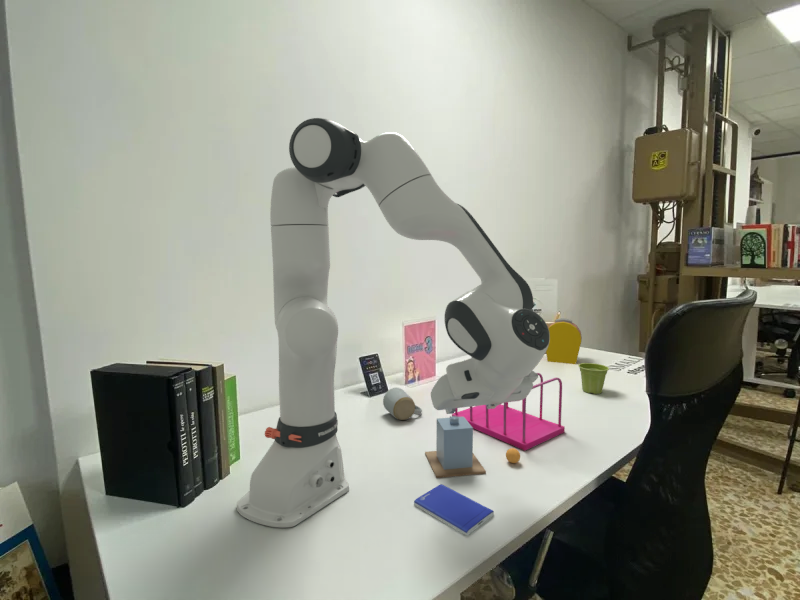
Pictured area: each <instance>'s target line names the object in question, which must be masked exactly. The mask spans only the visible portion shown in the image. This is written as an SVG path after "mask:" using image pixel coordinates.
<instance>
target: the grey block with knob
mask: <svg viewBox="0 0 800 600" xmlns="http://www.w3.org/2000/svg"><path fill="white" fill-rule="evenodd" d="M473 435H474V428H473V427H472V426H471V425H470V424H469V423H468V421H467V420H466V419H465V418H464V417H456V416H452V415H451V416H449V417H442V418H441V417H439V418H436V444H435V445H436V449H435V451H436V456H437V458H438V460H439V461H440V463H441V465H442V467H443V469H444V470H446V469H457V468H468V467H472V460H473V454H474V451H473V446H474V443H473V442H474V440H473V438H474V436H473Z"/></svg>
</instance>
